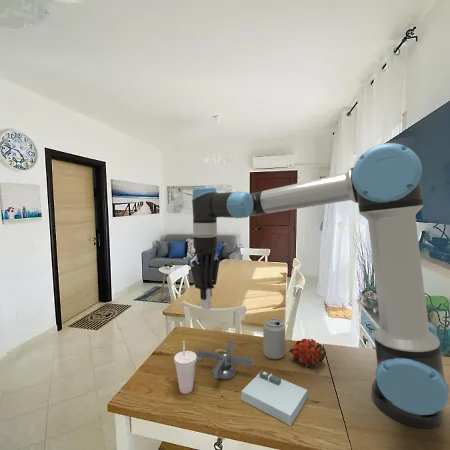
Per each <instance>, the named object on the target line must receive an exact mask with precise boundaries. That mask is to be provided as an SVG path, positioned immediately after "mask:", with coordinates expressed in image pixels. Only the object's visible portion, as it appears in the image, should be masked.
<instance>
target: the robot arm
mask: <svg viewBox="0 0 450 450" xmlns="http://www.w3.org/2000/svg"><path fill="white" fill-rule="evenodd" d="M422 174H423V165H422V162H421V160H420V158H419V156H418V155H417V154H416V152H414V151H413V150H412V149H411V148H409V146H405V145H403V144H402V143H401V144H400V143H394V142H388V143H380V144H377V145H374V146H372V147H370V148H369V149H367V150H366V151H364V152H363V153H362V154H361V155H360V156H359V157H358V159H357V160H356V161H355V163H354V166H353V167H350V168H349V169H348V170H347V171H346V172H343V173H340V174H335V175H334V174H333V175H331V176H326V177H325V176H324V177H322V178H317V179H312V180H307V181H303V182H298V183H293V184H289V185H284V186H280V187H274V188H270V189H266V190H261V191H257V192H253V193H252V192H251V193H250V192H248V191H238V190H237V191H232V192H217V188H216V187H215V186H197V187H194V188H193V189H192V197H191V198H192V199H191V202H192V203H191V204H192V218H193V219H192V233H193V240H192V242H193V243H192V244H193V248H194V253H193V258H192V259H189V260H187V261H188V266H189V267H190V270H191V274H192V279H193V283H194V288H195V289H199V292H200V300H201V309H204V310H207V311H209V310H211V309H212V297H213V294H212V293H213V292H212V289H213V290H214V289H215V285H217V280H218V274H219V268H220V267H219V266H220V262H221V258H222V255H221V254H217V251H216V248H217V247H218V237H217V234H218V227H217V226H218V224H217V223H218V221H217V219H218V218H226V219H227V218H228V219H229V218H230V219H231V218H235V219H243V218H249V217H258V216H262V215H266V214H272V213H273V214H275V213H278V212H284V211H291V210H297V209H304V208H310V207H316V206H323V205H327V204H328V205H329V204H335V203H341V202H348V201H351V202H352V203H353V202H354V203H355V204H358V212H359V215H361V216H362V217H363V218H365V219H366V220H367V223H368V224H367V225H368V231H369V232H368V233H369V239H370V241H369V242H370V248H371V256H372V257H371V258H372V265H373V272H374V273H373V274H374V275H373V276H374V283H375V291H376V299H377V305H378V307H377V308H378V315H379V323H380V324H379V325H380V327H379V328H376V330H375V331H374V332H373V338H374V347H375V356H376V369H375V377H374V380H373V382H372V385H371V400H372V401H373V403H374V404H375V405H376V407H377V408H378V409H379V410H380V411H381V412H383V414H385V415H387V416H388V417H389V418H392V419H393V420H395V421H397V422H399V423H402V424H403V425H407V426H410V427H413V428H418V429H432V428H436V427H438V426H440V425H441V423H442V420H443V409H444V408H445V407H446V406H447V404H448V402H449V393H450V392H449V391H450V390H449V386H448V384H447V382H446V379H445V374H444V365H443V356H442V350H441V348H442V347H441V342H440V339H439V338H438V337H439V335H438V332H437V331H438V329H437V327H436V326H435V325H434V324H433V322H429V319H428V311H427V303H426V301H427V300H426V294H425V287H424V285H425V284H424V278H423V277H424V276H423V269H422V261H421V251H420V245H419V236H418V228H417V227H418V226H417V220H416V219H417V217H416V215H417V214H418V213H419V212H420V210H421V209H423V207H424V199H423V189H422V182H421V180H422V179H421V178H422Z"/></svg>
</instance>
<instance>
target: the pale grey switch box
mask: <svg viewBox="0 0 450 450" xmlns="http://www.w3.org/2000/svg"><path fill="white" fill-rule="evenodd" d="M240 394H241V401H243V402H245V403H246V404H248V405H250V406H252V407H254V408H256V409H258V410H259V411H262V412H264V413H265V414H267V415H270V416H272V417H273V418H274V419H277V420H279V421H281V422H283V423H284V424H287V425H289V426H290V427H291V426H292V424H293V422H294V421H295V419H296V418H297V416H298V415H299V413H300V411H301V410H302V408H303V406H304V404H305V403H306V402H307V401H308V389H306V388H304V387H301V386H299V385H296V384H294V383H291V382H290V381H287V380H285V379H282V378H281V377H278V376H276V375H274V374H273V373H269V372H267V371H265V370H261V371H259V373H257V375H256V376H255V377H254V378H253V379H252V380H251V381H250V382H249V383H248V384H247V385H245V387H244V388H243V389H242V390H241V393H240Z"/></svg>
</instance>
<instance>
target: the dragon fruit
mask: <svg viewBox="0 0 450 450" xmlns="http://www.w3.org/2000/svg"><path fill="white" fill-rule="evenodd" d="M290 353H291V355H292V359H293V360H295V361H296V362H299V363H305V366H306V367H310V366H312V365H313V366H314V365H315V366H316V365H317V364H318V363H319V364H322V363H324V362H323V361H324V359H325V357H326V354H327V352H326V349H325V348H324V346H322V345H321V344H320V343H319V342H317V341H316V340H314V339H313V338H308V339H307V338H302V339H301V340H297V341H296V343H295V344H294V345H293V346H292V347H291V348H290V349H289V350H288V354H290Z"/></svg>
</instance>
